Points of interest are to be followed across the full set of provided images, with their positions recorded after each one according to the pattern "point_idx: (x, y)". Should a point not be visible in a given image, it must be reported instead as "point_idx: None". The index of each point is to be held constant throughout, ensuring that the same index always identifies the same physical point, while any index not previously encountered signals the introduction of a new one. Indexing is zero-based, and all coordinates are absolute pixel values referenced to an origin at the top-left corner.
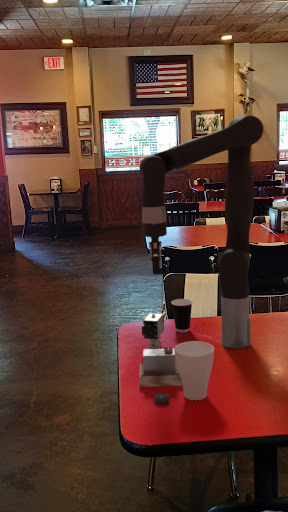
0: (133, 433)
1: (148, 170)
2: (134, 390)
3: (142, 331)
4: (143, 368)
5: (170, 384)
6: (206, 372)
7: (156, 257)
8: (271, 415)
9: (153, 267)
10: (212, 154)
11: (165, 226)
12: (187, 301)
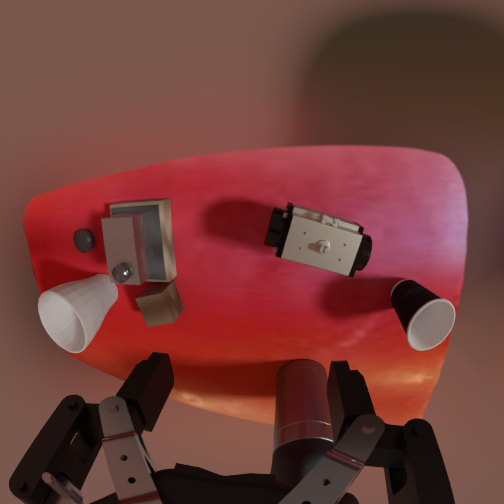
0: (33, 208)
1: None
2: (109, 194)
3: (287, 205)
4: (135, 210)
5: None
6: (69, 320)
7: (338, 434)
8: (86, 355)
9: (138, 380)
10: None
11: None
12: (440, 335)
